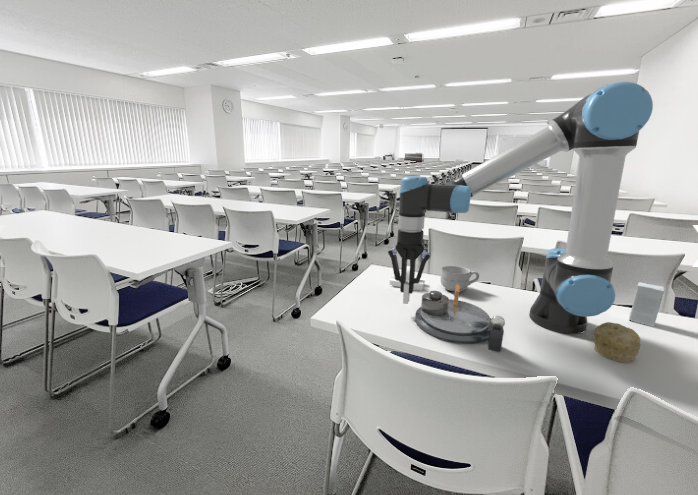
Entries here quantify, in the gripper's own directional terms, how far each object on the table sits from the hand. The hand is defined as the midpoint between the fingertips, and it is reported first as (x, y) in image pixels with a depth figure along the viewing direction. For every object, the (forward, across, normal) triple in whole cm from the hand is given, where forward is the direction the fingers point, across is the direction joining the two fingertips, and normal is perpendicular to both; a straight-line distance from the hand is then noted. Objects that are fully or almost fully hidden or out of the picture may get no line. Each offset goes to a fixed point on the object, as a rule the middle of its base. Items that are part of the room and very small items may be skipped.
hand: (406, 301), depth 104 cm
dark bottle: (+4, -26, +10) cm, 28 cm away
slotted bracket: (+5, +4, -25) cm, 25 cm away
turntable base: (+4, -15, 0) cm, 15 cm away
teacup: (+5, -15, -28) cm, 32 cm away
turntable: (+3, -15, -1) cm, 15 cm away
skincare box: (+5, -70, -23) cm, 74 cm away
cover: (+1, -9, 0) cm, 9 cm away
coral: (+5, -55, +1) cm, 55 cm away
